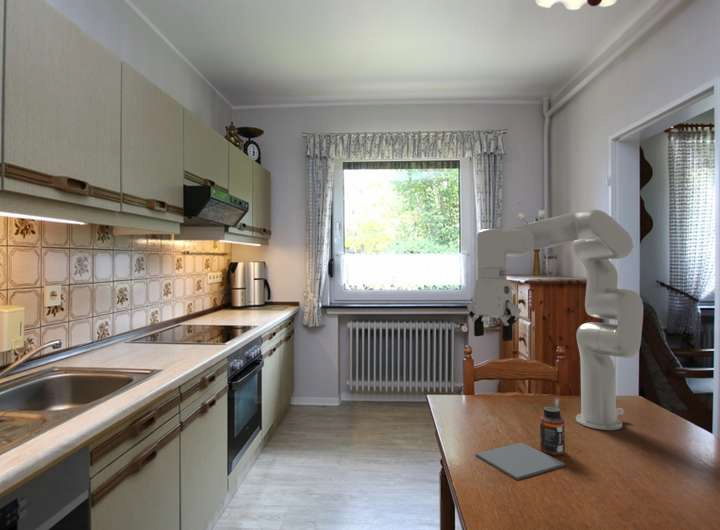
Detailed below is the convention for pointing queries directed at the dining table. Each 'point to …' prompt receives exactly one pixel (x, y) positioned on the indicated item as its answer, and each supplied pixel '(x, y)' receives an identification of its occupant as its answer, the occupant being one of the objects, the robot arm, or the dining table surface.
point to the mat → (519, 460)
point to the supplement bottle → (552, 432)
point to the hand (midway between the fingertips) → (492, 338)
